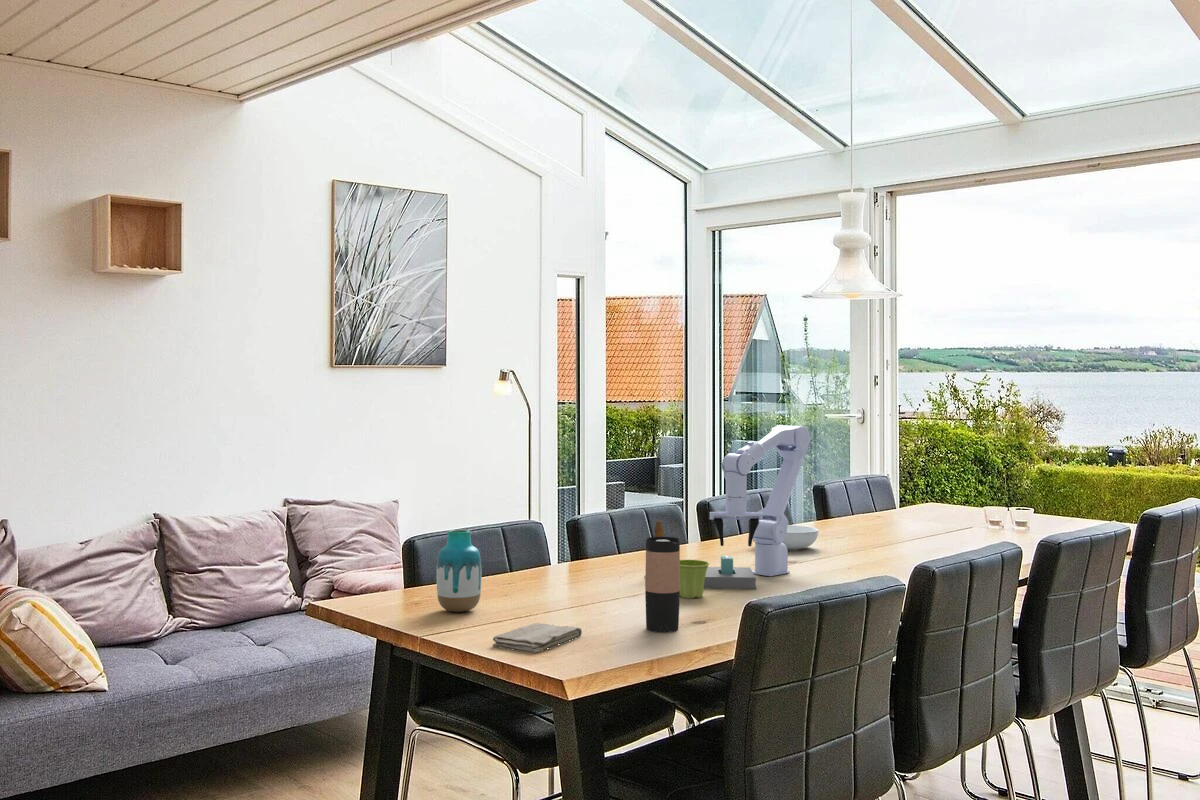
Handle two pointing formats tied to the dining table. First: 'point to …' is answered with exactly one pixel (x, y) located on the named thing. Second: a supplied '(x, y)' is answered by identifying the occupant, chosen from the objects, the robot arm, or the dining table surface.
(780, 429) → the robot arm
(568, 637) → the washcloth
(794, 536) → the serving bowl
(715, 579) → the keyed socket
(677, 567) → the travel mug
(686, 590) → the plant pot
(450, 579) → the vase
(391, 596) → the dining table surface
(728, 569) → the keyed peg
